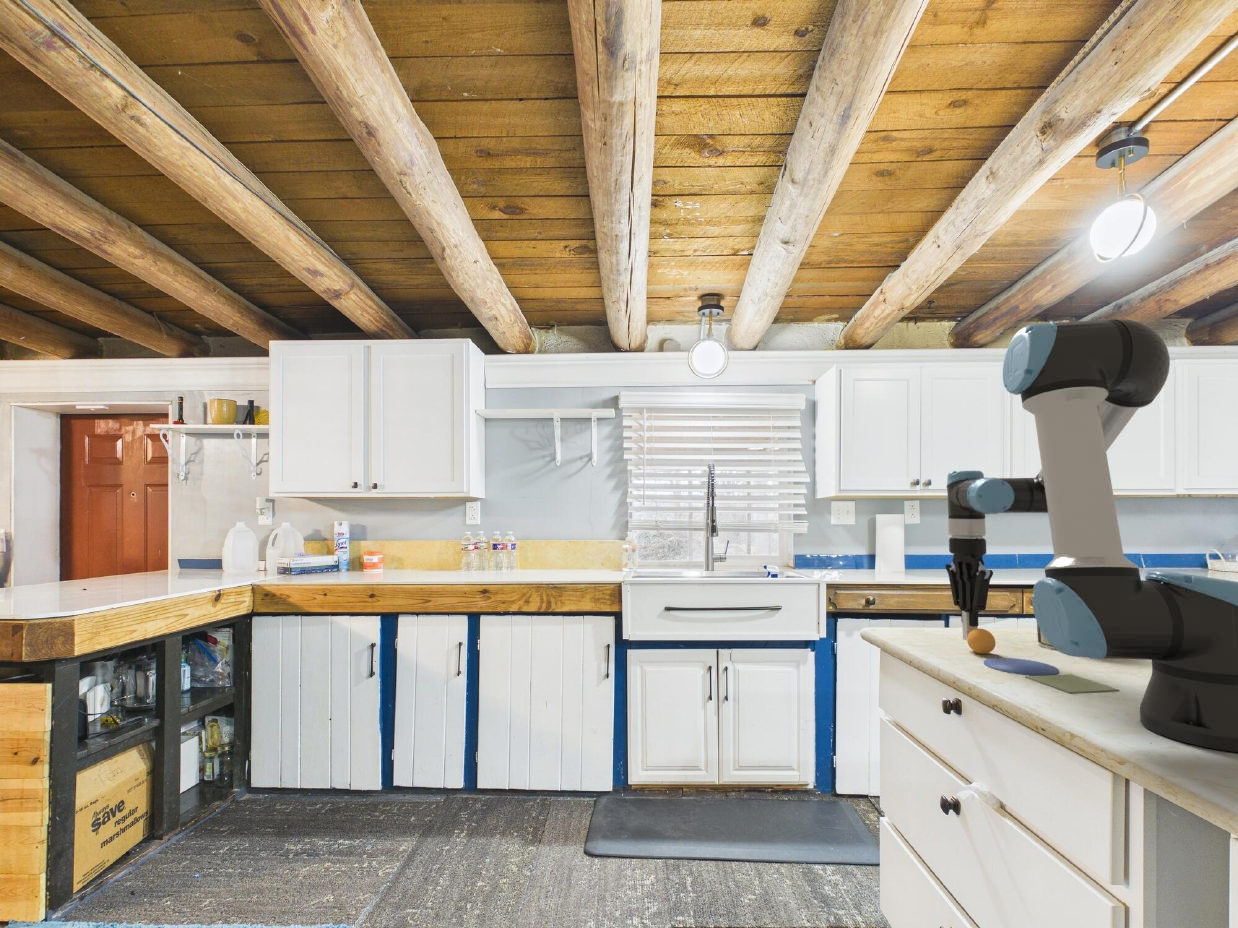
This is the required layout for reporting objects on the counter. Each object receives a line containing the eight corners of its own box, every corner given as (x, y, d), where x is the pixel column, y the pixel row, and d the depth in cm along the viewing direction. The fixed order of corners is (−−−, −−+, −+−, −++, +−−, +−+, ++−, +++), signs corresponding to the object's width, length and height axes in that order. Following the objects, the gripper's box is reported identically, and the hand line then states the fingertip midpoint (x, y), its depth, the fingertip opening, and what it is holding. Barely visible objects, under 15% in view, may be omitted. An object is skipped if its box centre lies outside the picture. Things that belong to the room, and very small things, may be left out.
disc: (1072, 677, 118) (1072, 676, 118) (997, 673, 121) (997, 672, 121) (1041, 660, 131) (1041, 659, 131) (974, 657, 134) (974, 656, 134)
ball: (989, 661, 137) (1002, 648, 133) (964, 654, 137) (976, 641, 134) (985, 640, 141) (998, 627, 137) (961, 633, 141) (972, 620, 138)
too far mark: (1119, 690, 110) (1119, 689, 110) (1070, 693, 108) (1070, 692, 108) (1071, 675, 120) (1071, 674, 120) (1025, 677, 118) (1025, 676, 118)
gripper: (1002, 538, 136) (1006, 645, 135) (962, 534, 148) (965, 632, 147) (972, 539, 135) (975, 647, 134) (934, 535, 147) (937, 633, 146)
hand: (970, 639), depth 140 cm, fingers closed
